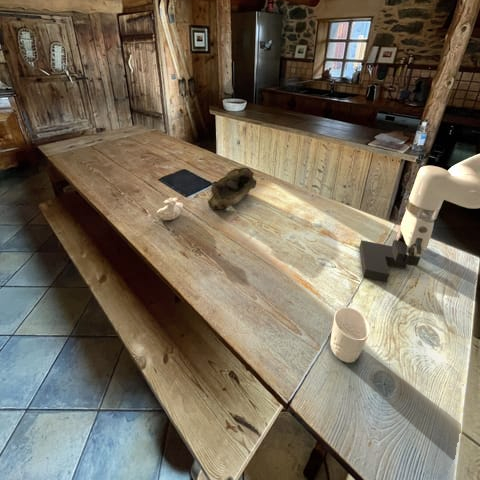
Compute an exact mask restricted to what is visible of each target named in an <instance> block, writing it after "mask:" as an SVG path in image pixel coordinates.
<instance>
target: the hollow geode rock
mask: <svg viewBox="0 0 480 480" xmlns="http://www.w3.org/2000/svg"><path fill="white" fill-rule="evenodd" d="M254 174H255V173H254V172H253V171H252V170H251V169H250V168H249V167H241V168H233V169H231V170H229V172H228V173H226V175H225V176H224V177H221V178H220V179H219V180H217V181H216V180H215V181H212V182H211V187H210V191H211V194H210V195H209V197H208V200H207V205H208V207H209V208H210V209H211V210H218V209H220V210H223V211H226V209H227V208H228V207H229V206H233V205H235V204H236V203H239V202H241V201H242V199H243V198H244V197H245V196H246V195H248V194H249V192H250V191H251V190H253V189H255V188H256V185H257V184H258V183H257V179H255V178H254Z"/></svg>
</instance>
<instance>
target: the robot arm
mask: <svg viewBox="0 0 480 480" xmlns="http://www.w3.org/2000/svg"><path fill="white" fill-rule="evenodd" d="M444 201H446V202H449V203H452V204H455V205H457V206H459V207H463V208H466V209H480V153H478V154H475V155H473V156H471V157H468V158H467V159H464V160H462V161H460V162H458V163H456V164H454V165H453V166H451V167H450V168H449V169H448V170H447V169H445V168H443V167H440V166H435V165H424V166H422V167H420V168H419V170H418V171H417V174H416V177H415V180H414V183H413V186H412V188H411V191H410V194H409V197H408V200H407V203H406V205H405V212H404V214H403V217H402V220H401V222H400V226H401V233H400V237H399V239H398V241H402V242H406V245H407V250H406V252H404V255H403V257H402V260H401V263H402V264H406V266H411V267H412V266H413V265H414V262H415V260H416V257H420V258H421V257H422V251H426V250H427V249H428V246H429V243H430V240H431V237H432V234H433V231H434V226H435V220H436V219H437V217H438V215H439V212H440V210H441V208H442V205H443V202H444ZM413 244H415V245H413ZM410 247H411V248H415V251H410Z"/></svg>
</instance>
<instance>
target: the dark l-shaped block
mask: <svg viewBox="0 0 480 480" xmlns="http://www.w3.org/2000/svg"><path fill="white" fill-rule="evenodd" d="M391 247H392V245H387V244H382V243H378V242H373V241H368V240H363V239H361V240H360V242H359V255H360V262H361V263H360V264H361V269H362V277H363V278H367V279H371V280H375V281H379V282H382V283H383V282H384V283H388V280H389V278H390V276H391V275H390V274H391V273H390V270H389V266H392V267H395V268H400V269H404V270H405V269H406V267H407V265H406V264H402V263H399V262H395V260H394V256H393V253H392V249H391Z"/></svg>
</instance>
